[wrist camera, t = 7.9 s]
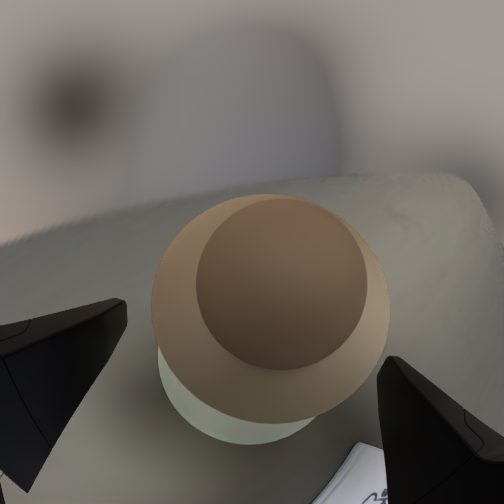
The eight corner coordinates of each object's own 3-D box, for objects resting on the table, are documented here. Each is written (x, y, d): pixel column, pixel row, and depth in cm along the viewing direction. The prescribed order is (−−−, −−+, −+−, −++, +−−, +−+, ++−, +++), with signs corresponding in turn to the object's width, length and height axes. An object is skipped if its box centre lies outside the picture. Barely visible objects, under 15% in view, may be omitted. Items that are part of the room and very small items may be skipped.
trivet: (363, 336, 17) (370, 333, 16) (266, 471, 13) (268, 475, 12) (234, 245, 20) (233, 238, 19) (129, 365, 16) (123, 364, 15)
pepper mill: (300, 369, 15) (492, 303, 3) (234, 405, 14) (218, 516, 2) (263, 308, 17) (326, 102, 4) (198, 341, 16) (78, 188, 3)
